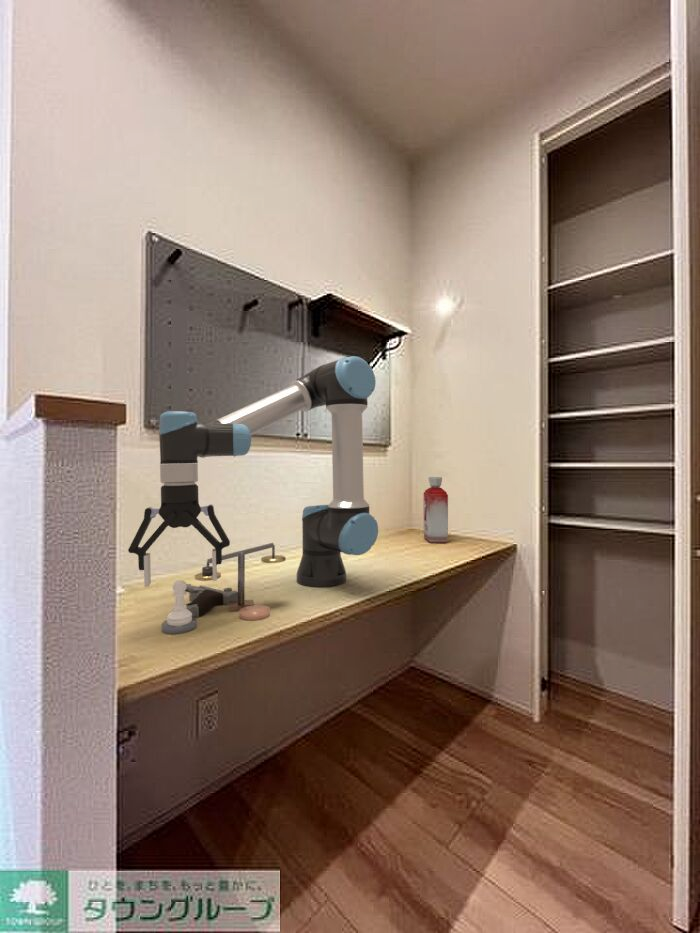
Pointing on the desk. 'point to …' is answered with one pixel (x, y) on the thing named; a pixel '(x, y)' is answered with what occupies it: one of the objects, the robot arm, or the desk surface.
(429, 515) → the bottle
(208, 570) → the balance
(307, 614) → the desk surface
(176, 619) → the chess pawn
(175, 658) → the desk surface
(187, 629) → the dish slate
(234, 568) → the desk surface
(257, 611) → the pink disc
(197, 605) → the handgun
